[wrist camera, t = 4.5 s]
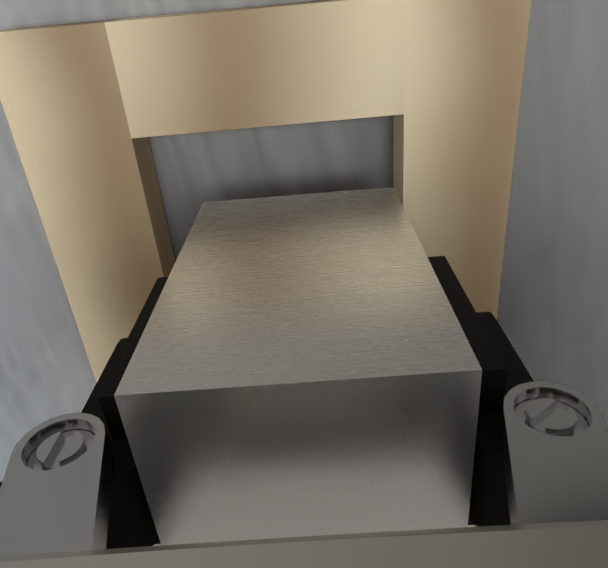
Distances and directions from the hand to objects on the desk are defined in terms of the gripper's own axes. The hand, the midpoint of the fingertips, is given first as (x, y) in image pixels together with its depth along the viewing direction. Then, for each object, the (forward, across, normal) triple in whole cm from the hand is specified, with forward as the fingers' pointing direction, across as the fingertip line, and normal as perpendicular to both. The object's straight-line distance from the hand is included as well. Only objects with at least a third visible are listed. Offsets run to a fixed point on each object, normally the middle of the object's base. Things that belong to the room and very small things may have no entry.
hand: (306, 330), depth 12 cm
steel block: (+2, 0, 0) cm, 2 cm away
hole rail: (+5, +1, +8) cm, 10 cm away
